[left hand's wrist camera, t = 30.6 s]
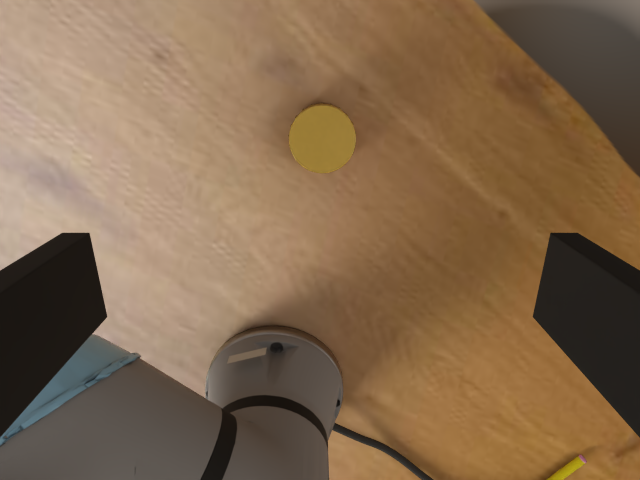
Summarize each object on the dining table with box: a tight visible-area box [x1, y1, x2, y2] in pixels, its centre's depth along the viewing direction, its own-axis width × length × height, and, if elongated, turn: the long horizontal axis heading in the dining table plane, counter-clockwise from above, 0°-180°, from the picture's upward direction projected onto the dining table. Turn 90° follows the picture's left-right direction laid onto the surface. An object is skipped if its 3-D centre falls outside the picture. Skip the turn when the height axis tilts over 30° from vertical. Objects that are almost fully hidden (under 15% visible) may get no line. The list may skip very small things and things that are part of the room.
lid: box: [289, 103, 356, 173], centre depth 37 cm, size 6×6×2 cm
